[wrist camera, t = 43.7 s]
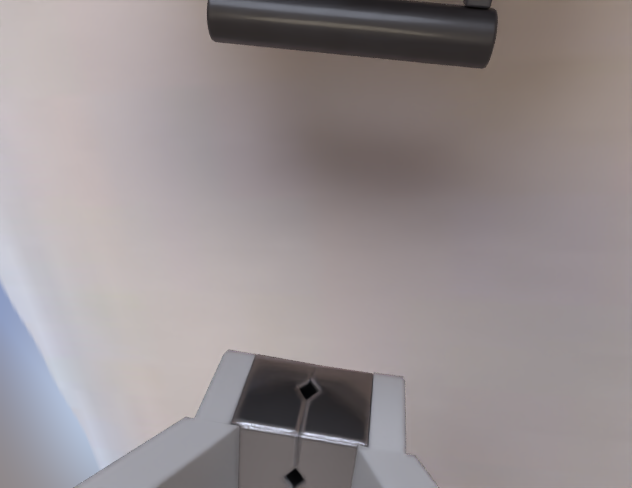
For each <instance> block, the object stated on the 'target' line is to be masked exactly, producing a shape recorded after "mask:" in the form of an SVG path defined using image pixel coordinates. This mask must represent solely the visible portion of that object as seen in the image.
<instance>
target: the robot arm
mask: <svg viewBox="0 0 632 488" xmlns="http://www.w3.org/2000/svg"><path fill="white" fill-rule="evenodd" d="M74 488H439V487H438V485H437V484H436V482H435V481H434V480H433V478H432V477H431V476H430V474H429V473H428V472H427V470H426V469H425V468H424V466H423V465H422V464H421V462H420V461H419V460H418V458H417V457H416V456H415V455H410V454H406V416H405V380H404V378H403V376H395V375H388V374H380V373H373V374H372V373H368V372H362V371H355V370H348V369H342V368H335V367H328V366H322V365H315V364H310V363H304V362H299V361H293V360H288V359H282V358H276V357H271V356H265V355H260V354H258V355H256V354H252V353H246V352H240V351H235V350H228V351H227V352H226V353H225V354H224V355H223V357H222V359H221V361H220V363H219V365H218V368H217V370H216V372H215V374H214V376H213V378H212V381H211V383H210V385H209V387H208V389H207V392H206V394H205V396H204V398H203V400H202V403H201V405H200V407H199V409H198V411H197V414H196V416H195V418H189V417H184V418H183V419H181V420H180V421H178V422H177V423H175V424H173V425H172V426H170V427H169V428H167V429H165V430H164V431H162V432H161V433H159V434H158V435H156V436H154V437H153V438H151V439H150V440H148V441H146V442H145V443H143V444H142V445H140V446H138V447H137V448H135V449H134V450H132V451H131V452H129V453H127V454H126V455H124V456H123V457H121V458H119V459H118V460H116V461H115V462H113V463H112V464H110V465H108V466H107V467H105V468H104V469H102V470H100V471H99V472H97V473H96V474H94V475H93V476H91V477H89V478H88V479H86V480H85V481H83V482H81V483H80V484H78V485H77V486H75V487H74Z"/></svg>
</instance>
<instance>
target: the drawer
mask: <svg viewBox="0 0 632 488" xmlns="http://www.w3.org/2000/svg"><path fill="white" fill-rule="evenodd" d="M463 3H464V5H466V6H461V5H450V4H440V3H429V2H418V1H407V0H208V3H207V23H208V29H209V34H210V37H211V39H212V40H213V41H215V42H220V43H230V44H240V45H250V46H260V47H270V48H280V49H290V50H300V51H310V52H320V53H330V54H340V55H350V56H360V57H370V58H380V59H390V60H400V61H410V62H420V63H430V64H440V65H450V66H460V67H470V68H480V69H482V68H485V67H486V66H487V64H488V62H489V60H490V58H491V55H492V51H493V48H494V44H495V39H496V33H497V25H498V16H497V11H496V10H495V9H494V8H490V6H491V3H492V0H463Z"/></svg>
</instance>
